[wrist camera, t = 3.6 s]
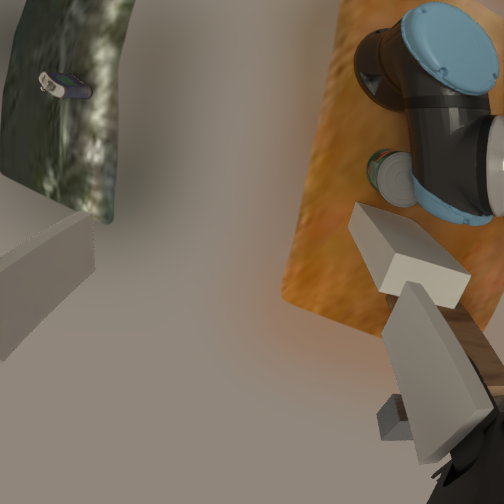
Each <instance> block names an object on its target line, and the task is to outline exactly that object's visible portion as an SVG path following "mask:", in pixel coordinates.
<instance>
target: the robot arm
mask: <svg viewBox="0 0 504 504" xmlns="http://www.w3.org/2000/svg"><path fill="white" fill-rule="evenodd" d="M354 70H355V74H356V77H357V80H358V82H359V84H360V86H361V87H362V89H363V90H364V92H365V93H366V94H367V95H368V96H369V97H370V98H371V99H372V100H373V101H375V102H376V103H377V104H379V105H381V106H382V107H384V108H387V109H389V110H393V111H398V112H405V113H406V119H407V126H408V134H409V142H410V151H411V162H412V166H411V174H412V178H413V183H414V193H415V196H416V199H417V201H418V203H419V204H420V206H421V207H422V208H423V209H425V210H426V211H427V212H428V213H430V214H432V215H434V216H436V217H438V218H440V219H442V220H445V221H448V222H451V223H455V224H460V225H461V224H462V223H465V224H467V225H469V226H481V225H485V224H487V223H489V222H490V221H491V220H492V219H493V216H497V217H503V216H504V117H503V116H500V115H491V111H490V104H489V97H488V92H489V90H491V89H492V88H493V87H494V85H495V83H496V82H495V80H496V79H497V78H498V76H499V61H498V56H497V53H496V50H495V48H494V45H493V43H492V41H491V40H490V38H489V36H488V35H487V33H486V32H485V31H484V29H483V28H482V27H481V26H480V25H479V24H478V23H476V22H475V21H474V20H473V19H472V18H471V17H470V16H469V15H468V14H467V13H465V12H464V11H462V10H460V9H459V8H457V7H454V6H452V5H449V4H446V3H441V2H428V3H424V4H422V5H420V6H418V7H416V8H414V9H411V10H410V11H408V12H407V13H406V14H405V15H404V17H403V18H402V19H400V20H399V21H398V22H397V23H396V24H395V25H394V26H393V27H392V28H385V29H379V30H376V31H374V32H372V33H370V34H369V35H367V36H366V37H365V38H364V39H363V40H362V41H361V42H360V44H359V45H358V47H357V49H356V52H355V55H354ZM94 271H95V258H94V238H93V213H88V212H84V211H78V212H76V213H74V214H72V215H70V216H69V217H67V218H65V219H63V220H61V221H59V222H58V223H56V224H54V225H52V226H51V227H49V228H47V229H45V230H44V231H42V232H40V233H38V234H37V235H35V236H34V237H32V238H30V239H28V240H27V241H25V242H24V243H22V244H20V245H19V246H17V247H15V248H14V249H12V250H11V251H9V252H8V253H6V254H5V255H3V256H2V257H0V362H1V363H3V362H4V361H5V360H6V358H7V357H8V356H9V355H10V354H11V353H12V352H13V351H14V350H15V349H16V348H17V346H18V345H19V344H20V343H21V342H22V341H23V340H24V339H25V338H26V337H27V336H28V335H29V334H30V333H31V332H32V331H33V330H34V329H35V328H36V327H37V326H38V325H39V323H40V322H41V321H42V320H43V319H44V318H45V317H46V316H47V315H48V314H50V313H51V312H52V311H53V310H54V309H55V307H57V306H58V305H59V304H60V303H61V302H62V301H63V300H64V299H65V298H66V297H67V296H68V295H69V294H70V293H71V292H72V291H73V290H75V289H76V288H77V287H78V286H79V285H80V284H81V283H82V282H83V281H84V280H85V279H87V278H88V277H89V276H90V275H91V274H92V273H93V272H94ZM381 335H382V338H383V341H384V343H385V346H386V349H387V352H388V355H389V358H390V361H391V364H392V367H393V370H394V373H395V376H396V380H397V383H398V386H399V389H400V393H401V396H402V399H403V403H404V406H405V410H406V413H407V417H408V421H409V424H410V428H411V432H412V436H413V440H414V444H415V448H416V452H417V456H418V461H419V464H420V465H422V464H429V463H436V462H438V461H440V460H441V459H442V458H443V457H445V456H446V455H447V454H448V453H449V452H450V454H451V458H452V459H451V460H450V461H449V462H448V463H447V464H445V465H444V466H443V467H442V468H440V469H439V470H438V471H436V472H435V473H434V474H433V476H432V477H431V478H433V479H434V478H435V477H436V476H437V475H439V474H440V473H442V474H441V476H440V478H439V479H438V480H437V484H436V486H435V489H434V490H433V492H432V494H431V496H430V498H429V500H428V502H427V504H504V412H501V413H500V411H499V409H498V407H497V405H496V403H495V401H494V399H493V397H492V395H491V393H490V391H489V389H488V387H487V385H486V383H484V379H483V377H482V375H481V374H479V373H480V372H479V370H478V368H477V366H476V365H475V363H474V361H473V360H472V359H471V358H470V357H469V356H468V355H467V354H466V353H465V352H464V350H463V348H462V347H461V345H460V343H459V341H458V340H457V338H456V336H455V335H454V333H453V332H452V330H451V328H450V327H449V325H448V324H447V322H446V320H445V319H444V317H443V316H442V314H441V313H440V311H439V310H438V308H437V306H436V305H435V303H434V302H433V300H432V299H431V297H430V296H429V295H428V293H427V292H426V290H425V289H424V287H423V286H422V284H420V283H415V282H411V281H406V282H405V284H404V287H403V289H402V291H401V293H400V296H399V298H398V300H397V302H396V304H395V306H394V309H393V311H392V313H391V315H390V317H389V319H388V321H387V323H386V325H385V327H384V329H383V331H382V333H381Z"/></svg>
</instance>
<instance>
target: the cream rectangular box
mask: <svg viewBox="0 0 504 504" xmlns="http://www.w3.org/2000/svg"><path fill="white" fill-rule="evenodd" d="M348 229H349V231H350V233H351V235H352V237H353V239H354V241H355V243H356V245H357V247H358V249H359V251H360V253H361V255H362V257H363V259H364V261H365V263H366V265H367V267H368V270H369V272H370V274H371V276H372V278H373V280H374V282H375V285H376V287H377V289H378V291H379V292H383V293H387V294H391V295H396V296H400V293H401V291H402V289H403V287H404V284H405V282H406V281H411V282H415V283H420V284H422V286H423V287H424V289H425V290H426V292H427V293H428V295H429V296H430V297H431V299H432V300H433V302H434V303H435V305H438V306H443V307H447V308H451V309H454V308H455V306H456V305H457V303H458V301H459V299H460V297H461V295H462V293H463V291H464V290H465V288H466V286H467V284H468V282H469V280H470V277H471V275H470V274H469V273H468V272H467V271H466V270H465V269H464V268H463V267H462V266H461V265H460V264H459V263H458V262H457V261H456V260H455V258H453V257H452V256H451V255H450V254H449V253H448V252H447V251H446V250H445V249H444V248H443V247H442V246H441V245H440V244H439V243H438V242H437V241H436V240H435V239H434V238H433V237H432V236H431V235H430V234H428V233H427V232H426V231H425V230H424V229H423V228H422V227H421V226H420V225H419V224H417V223H416V222H415V221H414V220H413V219H410V218H407V217H404V216H401V215H398V214H395V213H392V212H389V211H386V210H382V209H379V208H376V207H373V206H370V205H367V204H363V203H360V202H357V201H356V202H355V206H354V209H353V212H352V215H351V218H350V221H349V224H348Z"/></svg>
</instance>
